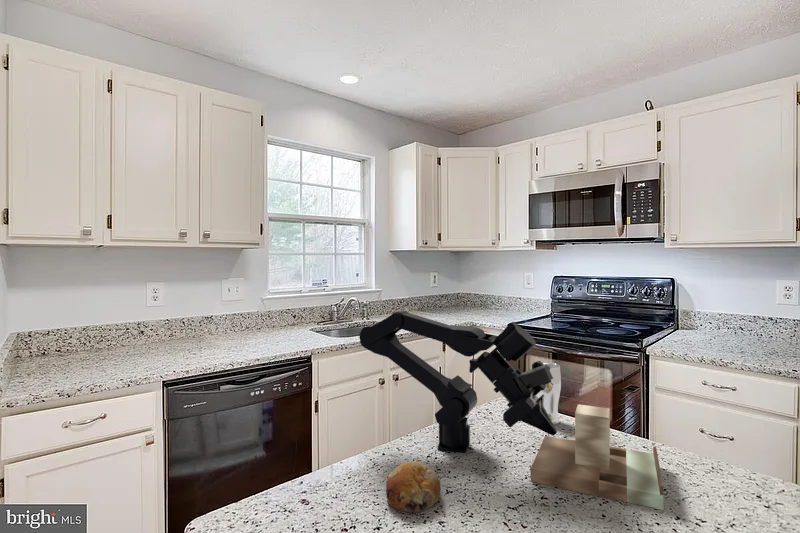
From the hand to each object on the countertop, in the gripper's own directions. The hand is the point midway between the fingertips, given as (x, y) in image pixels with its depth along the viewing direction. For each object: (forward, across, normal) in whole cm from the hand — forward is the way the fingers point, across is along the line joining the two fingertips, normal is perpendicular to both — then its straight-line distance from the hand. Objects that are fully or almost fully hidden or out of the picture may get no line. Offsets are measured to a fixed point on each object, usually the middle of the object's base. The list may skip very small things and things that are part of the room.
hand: (555, 433), depth 91 cm
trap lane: (+10, 0, -1) cm, 10 cm away
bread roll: (-10, -24, +20) cm, 33 cm away
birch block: (+8, 0, -2) cm, 8 cm away
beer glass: (+1, +26, +9) cm, 28 cm away
